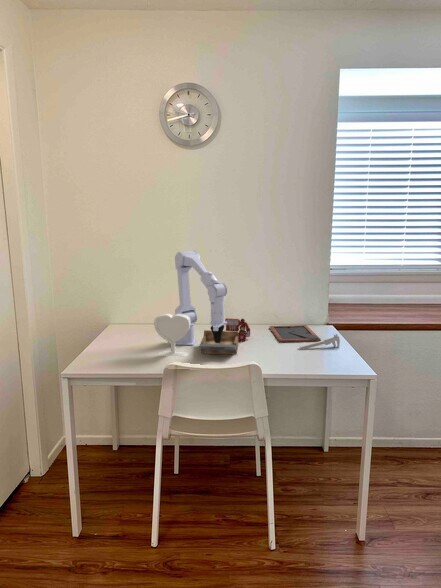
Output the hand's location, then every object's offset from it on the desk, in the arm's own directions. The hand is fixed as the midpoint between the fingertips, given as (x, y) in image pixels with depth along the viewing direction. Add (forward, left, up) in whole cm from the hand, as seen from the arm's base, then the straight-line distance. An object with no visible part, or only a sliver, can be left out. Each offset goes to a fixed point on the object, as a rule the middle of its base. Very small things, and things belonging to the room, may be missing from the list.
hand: (217, 342), depth 178 cm
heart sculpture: (-20, +2, -7) cm, 21 cm away
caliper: (+45, +16, -7) cm, 48 cm away
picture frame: (+35, +36, -7) cm, 51 cm away
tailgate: (0, +3, -4) cm, 6 cm away
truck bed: (0, +10, -6) cm, 12 cm away
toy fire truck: (+7, +26, -7) cm, 28 cm away
